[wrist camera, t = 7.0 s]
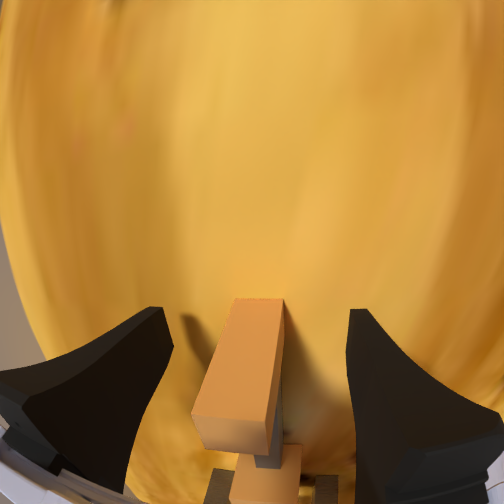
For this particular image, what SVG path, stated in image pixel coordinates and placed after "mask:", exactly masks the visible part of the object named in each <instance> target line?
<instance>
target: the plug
mask: <svg viewBox="0 0 504 504" xmlns="http://www.w3.org/2000/svg"><path fill="white" fill-rule="evenodd" d="M284 339H285V333H284V309H283V299H235V300H234V303H233V305H232V308H231V310H230V313H229V316H228V318H227V321H226V323H225V326H224V329H223V331H222V334H221V336H220V339H219V342H218V344H217V347H216V349H215V352H214V355H213V357H212V360H211V362H210V365H209V368H208V370H207V373H206V375H205V378H204V381H203V383H202V386H201V388H200V391H199V394H198V396H197V399H196V401H195V404H194V407H193V409H192V412H191V416H192V418H193V421H194V423H195V426H196V428H197V431H198V433H199V435H200V438H201V440H202V442H203V445H204V447H205V449H210V450H217V451H224V452H233V453H239V456H238V461H237V465H236V469H235V473H234V478H233V482H232V486H231V490H230V494H229V500H230V502H231V504H298V494H299V483H300V472H301V460H302V447H303V445H291V444H283V415H282V390H281V364H282V356H283V347H284Z"/></svg>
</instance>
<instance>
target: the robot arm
mask: <svg viewBox="0 0 504 504" xmlns="http://www.w3.org/2000/svg"><path fill="white" fill-rule="evenodd" d="M173 348H174V345H173V341H172V338H171V335H170V331H169V328H168V325H167V321H166V317H165V314H164V310H163V307H151V306H150V307H148V308H146V309H144V310H142V311H140V312H139V313H137V314H135V315H134V316H132V317H131V318H129V319H127V320H126V321H124V322H123V323H121V324H120V325H118V326H116V327H115V328H113V329H112V330H110V331H108V332H107V333H105V334H103V335H102V336H100V337H98V338H97V339H95V340H93V341H91V342H90V343H88V344H86V345H84V346H82V347H80V348H78V349H76V350H74V351H71V352H69V353H67V354H64V355H62V356H59V357H56V358H54V359H51V360H48V361H45V362H42V363H39V364H35V365H31V366H27V367H22V368H17V369H11V370H4V371H0V414H1V416H2V417H3V418H4V419H5V421H6V422H7V423H8V424H9V425H10V427H9V428H8V430H6V429H5V428H4V427H3V426H1V425H0V492H2V493H3V494H4V495H5V496H6V497H7V498H8V499H10V500H11V501H12V502H13V503H14V504H92V503H93V504H148V503H145V502H142V501H139V500H136V499H133V498H130V497H127V496H125V495H123V489H124V483H125V477H126V472H127V467H128V463H129V459H130V455H131V451H132V447H133V444H134V441H135V437H136V434H137V431H138V428H139V425H140V422H141V420H142V417H143V414H144V412H145V410H146V408H147V406H148V404H149V402H150V400H151V398H152V396H153V394H154V392H155V390H156V388H157V386H158V384H159V382H160V380H161V378H162V376H163V374H164V372H165V370H166V368H167V366H168V363H169V360H170V357H171V354H172V351H173ZM346 367H347V378H348V383H349V389H350V395H351V401H352V407H353V413H354V420H355V428H356V488H355V503H354V504H504V423H503V421H502V418H501V416H500V415H499V413H498V412H495V411H493V410H490V409H488V408H486V407H483V406H481V405H479V404H476V403H474V402H472V401H470V400H468V399H467V398H465V397H463V396H461V395H459V394H457V393H456V392H454V391H452V390H451V389H449V388H448V387H446V386H445V385H443V384H442V383H440V382H439V381H437V380H436V379H434V378H433V377H432V376H430V375H429V374H428V373H427V372H425V371H424V370H423V369H422V368H421V367H419V366H418V365H417V364H416V363H415V362H414V361H412V360H411V359H410V358H409V357H408V356H407V355H406V354H405V353H404V352H403V351H402V350H401V349H400V348H399V347H398V345H397V344H396V343H395V342H394V341H393V340H392V339H391V338H390V336H389V335H388V334H387V333H386V332H385V331H384V329H383V328H382V327H381V326H380V325H379V323H378V322H377V321H376V320H375V318H374V317H373V316H372V314H371V313H370V312H369V311H368V310H367V309H350V317H349V327H348V336H347V344H346Z"/></svg>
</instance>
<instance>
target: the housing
mask: <svg viewBox="0 0 504 504" xmlns="http://www.w3.org/2000/svg"><path fill="white" fill-rule="evenodd" d="M234 473H235V472H234V471H228V470H221V469H214V468H213V472H212V475H211V479H210V482H209V486H208V489H207V492H206V496H205V499H204V503H203V504H231V502H230V500H229V494H230V490H231V486H232V482H233V478H234ZM311 504H338V475H327V476H316V479H315V484H314V488H313V493H312V502H311Z"/></svg>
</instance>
